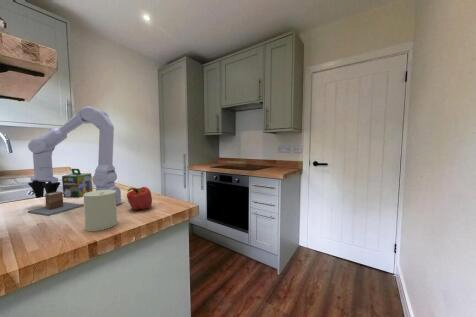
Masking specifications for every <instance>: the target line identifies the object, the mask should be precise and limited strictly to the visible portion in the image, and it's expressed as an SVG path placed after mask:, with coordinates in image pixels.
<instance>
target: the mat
mask: <svg viewBox="0 0 476 317" xmlns="http://www.w3.org/2000/svg"><path fill="white" fill-rule="evenodd" d="M81 207H84V204H82V203H75V202H66V201H63V207H60V208H56V209H52V210H49V209H46V205H45V206H42V207H38V208H33V209H29V210H27V211H26V212H27V213H30V214H35V215H41V216H46V217H50V216H53V215H57V214H60V213H64V212H68V211H71V210H75V209H78V208H81Z"/></svg>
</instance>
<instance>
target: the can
mask: <svg viewBox="0 0 476 317" xmlns="http://www.w3.org/2000/svg"><path fill="white" fill-rule="evenodd" d="M82 197H83V203H84V204H83V205H84V206H83V208H84V222H85V224H84V226H85V227H84V231H88V232H98V231H99V230H100V231H104V229H105V230H108V229H111V228H113V227H115V226H116V225H117V224H118V216H117V214H118V213H117V205H116V191H115V190H97V191H96V190H93V191H92V192H88V193H85V194H84V195H83V196H82ZM114 225H115V226H114ZM112 226H113V227H112ZM110 227H111V228H110ZM107 228H108V229H107ZM100 231H99V232H100Z"/></svg>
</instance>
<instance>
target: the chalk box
mask: <svg viewBox="0 0 476 317" xmlns="http://www.w3.org/2000/svg"><path fill="white" fill-rule="evenodd" d="M75 171H76V172H75ZM92 179H93V177H92V173H90V172H89V173H88V172H87V173H86V172H85V173H82V172H81V170H80V169H79V168H71V173H70V174H65V175H62V176H61V181H62V182H61V183H62V192H63V198H82V197H84V196H83V195H84V194H85V193H88V192H92V191H94V190H93V180H92Z"/></svg>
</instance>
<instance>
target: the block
mask: <svg viewBox="0 0 476 317" xmlns="http://www.w3.org/2000/svg"><path fill="white" fill-rule="evenodd" d="M44 196H45V197H44V198H45V206H46V209H49V210H52V209H56V208H60V207H63V202H64V195H63V191H59V190H57V191H56V192H52V193H47V194H46V193H45V194H44Z"/></svg>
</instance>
